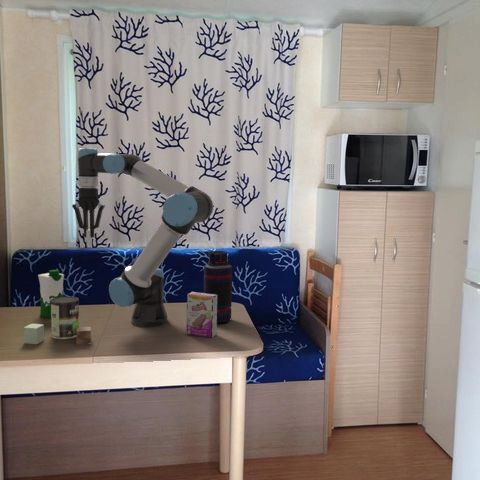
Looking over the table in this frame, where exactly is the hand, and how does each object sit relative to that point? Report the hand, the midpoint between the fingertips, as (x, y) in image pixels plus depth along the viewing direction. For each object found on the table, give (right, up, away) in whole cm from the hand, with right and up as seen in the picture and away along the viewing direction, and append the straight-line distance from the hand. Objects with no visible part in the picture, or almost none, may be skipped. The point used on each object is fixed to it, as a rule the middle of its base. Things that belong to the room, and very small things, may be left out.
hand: (89, 245), depth 221 cm
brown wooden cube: (+3, -36, -19) cm, 41 cm away
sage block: (-15, -35, -20) cm, 43 cm away
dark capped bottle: (+51, -32, +12) cm, 62 cm away
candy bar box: (+46, -35, -8) cm, 59 cm away
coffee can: (-6, -35, -12) cm, 37 cm away
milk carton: (-20, -30, +13) cm, 39 cm away
